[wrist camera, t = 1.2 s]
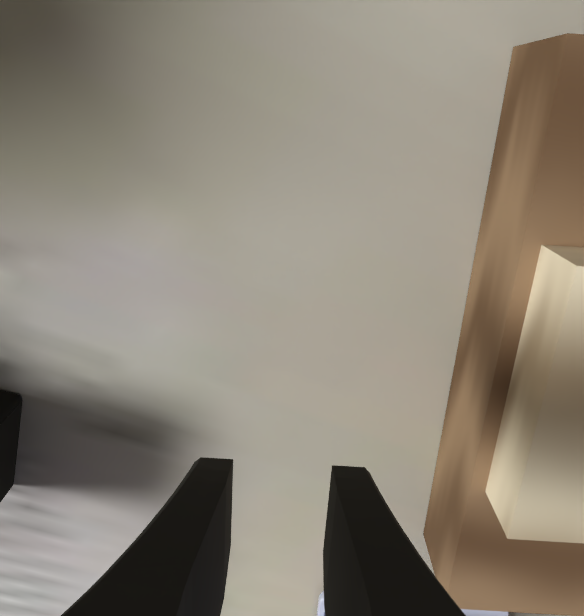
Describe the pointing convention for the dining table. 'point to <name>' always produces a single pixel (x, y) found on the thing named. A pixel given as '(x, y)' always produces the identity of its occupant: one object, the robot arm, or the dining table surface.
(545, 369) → the birch block
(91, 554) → the dining table surface
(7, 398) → the digital camera
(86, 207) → the dining table surface
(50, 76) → the dining table surface
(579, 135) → the board
